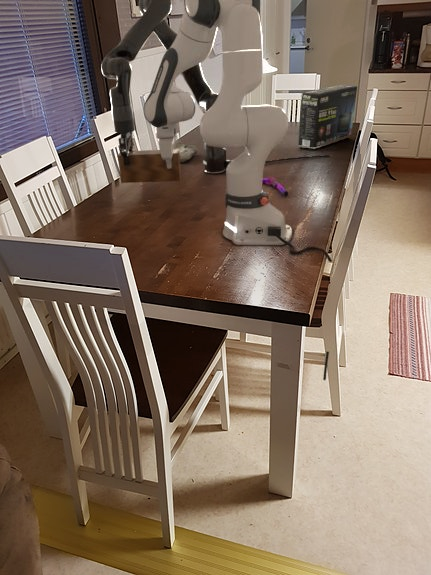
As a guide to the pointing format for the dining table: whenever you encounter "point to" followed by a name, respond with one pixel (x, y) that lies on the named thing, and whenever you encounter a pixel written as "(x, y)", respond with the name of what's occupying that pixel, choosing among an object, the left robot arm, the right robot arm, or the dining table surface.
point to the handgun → (275, 184)
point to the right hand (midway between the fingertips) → (170, 165)
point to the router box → (326, 115)
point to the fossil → (186, 151)
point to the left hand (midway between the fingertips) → (129, 162)
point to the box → (149, 167)
